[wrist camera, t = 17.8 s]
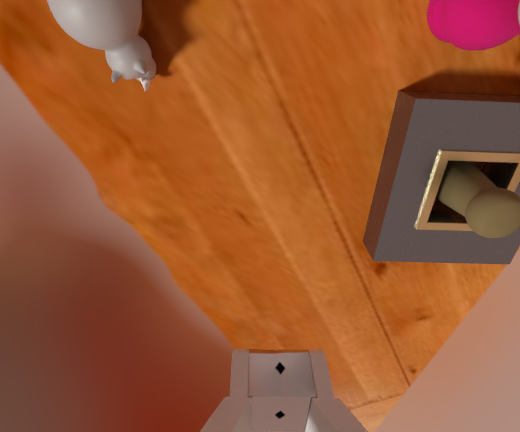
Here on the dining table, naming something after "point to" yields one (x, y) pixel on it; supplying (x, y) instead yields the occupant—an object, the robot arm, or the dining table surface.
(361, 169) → the dining table surface
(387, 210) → the block
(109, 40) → the round bodied animal figurine
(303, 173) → the dining table surface
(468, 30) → the pepper mill
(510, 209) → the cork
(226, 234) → the dining table surface
